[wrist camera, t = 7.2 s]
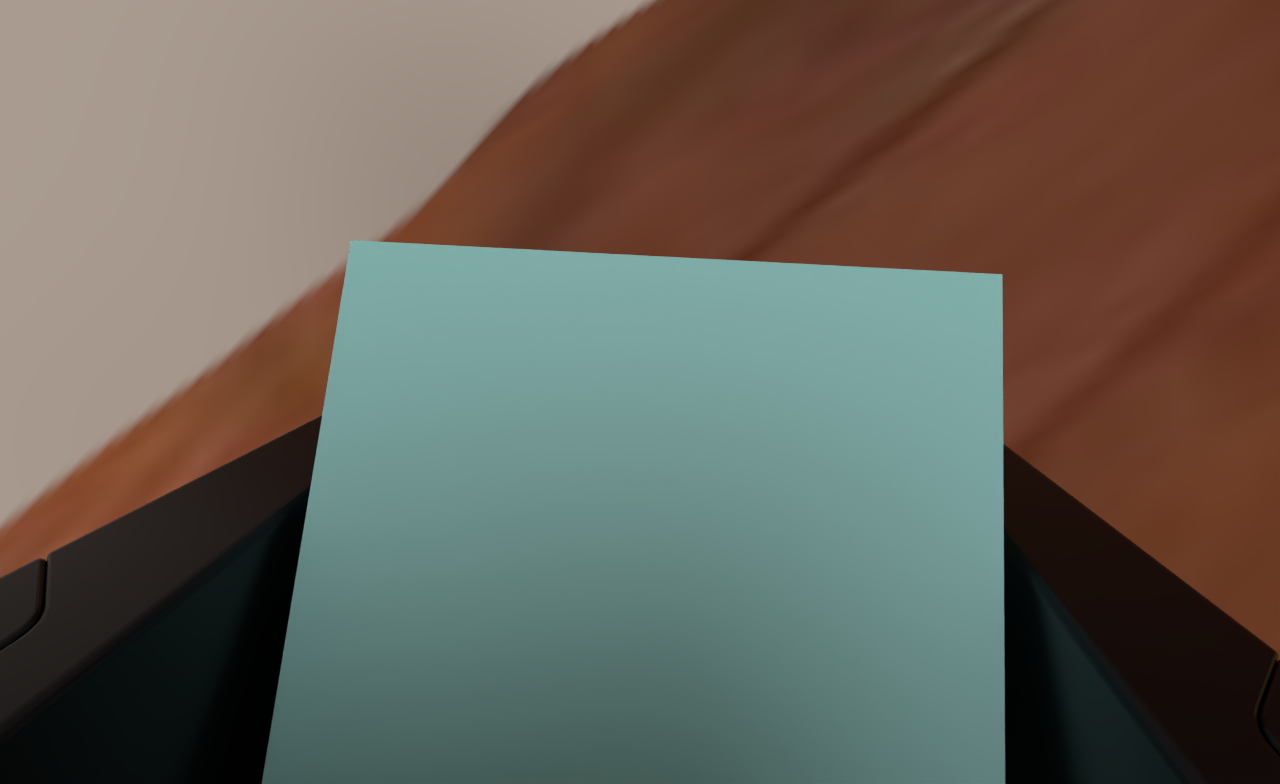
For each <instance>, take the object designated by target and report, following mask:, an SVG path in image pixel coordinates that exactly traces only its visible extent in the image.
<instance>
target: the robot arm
mask: <svg viewBox="0 0 1280 784" xmlns="http://www.w3.org/2000/svg"><path fill="white" fill-rule="evenodd" d="M321 420H322V416H320V417H318V418H316V419H314V420H312V421H310V422H308V423H306V424H304V425H302V426H300V427H298V428H296V429H294V430H292V431H290V432H288V433H286V434H284V435H282V436H280V437H278V438H276V439H274V440H272V441H270V442H268V443H266V444H264V445H262V446H260V447H259V448H257V449H255V450H253V451H251V452H249V453H247V454H245V455H243V456H241V457H239V458H237V459H235V460H233V461H231V462H229V463H227V464H225V465H223V466H221V467H219V468H217V469H215V470H213V471H211V472H209V473H207V474H205V475H203V476H201V477H199V478H197V479H195V480H193V481H191V482H189V483H187V484H185V485H183V486H181V487H179V488H177V489H175V490H173V491H171V492H169V493H167V494H166V495H164V496H162V497H160V498H158V499H156V500H154V501H152V502H150V503H148V504H146V505H144V506H142V507H140V508H138V509H136V510H134V511H132V512H130V513H128V514H126V515H124V516H122V517H120V518H118V519H116V520H114V521H112V522H110V523H108V524H106V525H104V526H102V527H100V528H98V529H96V530H94V531H92V532H90V533H88V534H86V535H84V536H82V537H80V538H78V539H76V540H74V541H72V542H71V543H69V544H67V545H65V546H63V547H61V548H59V549H57V550H55V551H53V552H51V553H49V554H48V556H47V562H46V560H45V559H41V558H39V559H36V560H34V561H32V562H30V563H28V564H26V565H25V566H23V567H21V568H19V569H17V570H15V571H13V572H11V573H9V574H7V575H5V576H3V577H1V578H0V784H262V779H263V773H264V767H265V761H266V755H267V749H268V742H269V736H270V730H271V724H272V718H273V712H274V706H275V700H276V694H277V688H278V682H279V676H280V669H281V663H282V657H283V651H284V645H285V639H286V633H287V627H288V621H289V615H290V609H291V603H292V596H293V590H294V584H295V578H296V572H297V566H298V560H299V554H300V548H301V542H302V536H303V530H304V523H305V517H306V511H307V505H308V499H309V493H310V487H311V481H312V475H313V469H314V463H315V457H316V450H317V444H318V438H319V432H320V426H321ZM1003 492H1004V668H1005V784H1280V660H1279V661H1278V653H1277V652H1276V651H1275V650H1273V649H1272V648H1271V647H1270V646H1268V645H1267V644H1266V643H1264V642H1263V641H1262V640H1260V639H1259V638H1258V637H1256V636H1255V635H1254V634H1252V633H1251V632H1250V631H1249V630H1247V629H1246V628H1245V627H1243V626H1242V625H1241V624H1239V623H1238V622H1237V621H1235V620H1234V619H1233V618H1232V617H1230V616H1229V615H1228V614H1226V613H1225V612H1224V611H1222V610H1221V609H1220V608H1218V607H1217V606H1216V605H1214V604H1213V603H1212V602H1211V601H1209V600H1208V599H1207V598H1205V597H1204V596H1203V595H1201V594H1200V593H1199V592H1197V591H1196V590H1195V589H1193V588H1192V587H1191V586H1190V585H1188V584H1187V583H1186V582H1184V581H1183V580H1182V579H1180V578H1179V577H1178V576H1176V575H1175V574H1174V573H1172V572H1171V571H1170V570H1169V569H1167V568H1166V567H1165V566H1163V565H1162V564H1161V563H1159V562H1158V561H1157V560H1155V559H1154V558H1153V557H1151V556H1150V555H1149V554H1148V553H1146V552H1145V551H1144V550H1142V549H1141V548H1140V547H1138V546H1137V545H1136V544H1134V543H1133V542H1132V541H1130V540H1129V539H1128V538H1127V537H1125V536H1124V535H1123V534H1121V533H1120V532H1119V531H1117V530H1116V529H1115V528H1113V527H1112V526H1111V525H1109V524H1108V523H1107V522H1106V521H1104V520H1103V519H1102V518H1100V517H1099V516H1098V515H1096V514H1095V513H1094V512H1092V511H1091V510H1090V509H1088V508H1087V507H1086V506H1085V505H1083V504H1082V503H1081V502H1079V501H1078V500H1077V499H1075V498H1074V497H1073V496H1071V495H1070V494H1069V493H1067V492H1066V491H1065V490H1064V489H1062V488H1061V487H1060V486H1058V485H1057V484H1056V483H1054V482H1053V481H1052V480H1050V479H1049V478H1048V477H1046V476H1045V475H1044V474H1043V473H1041V472H1040V471H1039V470H1037V469H1036V468H1035V467H1033V466H1032V465H1031V464H1029V463H1028V462H1027V461H1025V460H1024V459H1023V458H1022V457H1020V456H1019V455H1018V454H1016V453H1015V452H1014V451H1012V450H1011V449H1010V448H1008V447H1007V446H1006V445H1004V444H1003ZM1277 661H1278V662H1277Z"/></svg>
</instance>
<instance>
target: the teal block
mask: <svg viewBox="0 0 1280 784" xmlns="http://www.w3.org/2000/svg"><path fill="white" fill-rule="evenodd" d="M262 784H1005V668H1004V492H1003V316H1002V274H983V273H964V272H945V271H926V270H907V269H888V268H869V267H850V266H831V265H812V264H793V263H774V262H755V261H736V260H717V259H698V258H679V257H660V256H640V255H621V254H602V253H583V252H564V251H545V250H526V249H507V248H488V247H469V246H450V245H431V244H412V243H393V242H374V241H354V240H352V241H351V244H350V250H349V256H348V262H347V268H346V274H345V280H344V286H343V292H342V298H341V304H340V311H339V317H338V323H337V329H336V335H335V341H334V347H333V353H332V359H331V365H330V371H329V377H328V384H327V390H326V396H325V402H324V408H323V414H322V420H321V426H320V432H319V438H318V444H317V450H316V457H315V463H314V469H313V475H312V481H311V487H310V493H309V499H308V505H307V511H306V517H305V523H304V530H303V536H302V542H301V548H300V554H299V560H298V566H297V572H296V578H295V584H294V590H293V596H292V603H291V609H290V615H289V621H288V627H287V633H286V639H285V645H284V651H283V657H282V663H281V669H280V676H279V682H278V688H277V694H276V700H275V706H274V712H273V718H272V724H271V730H270V736H269V742H268V749H267V755H266V761H265V767H264V773H263V779H262Z"/></svg>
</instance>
